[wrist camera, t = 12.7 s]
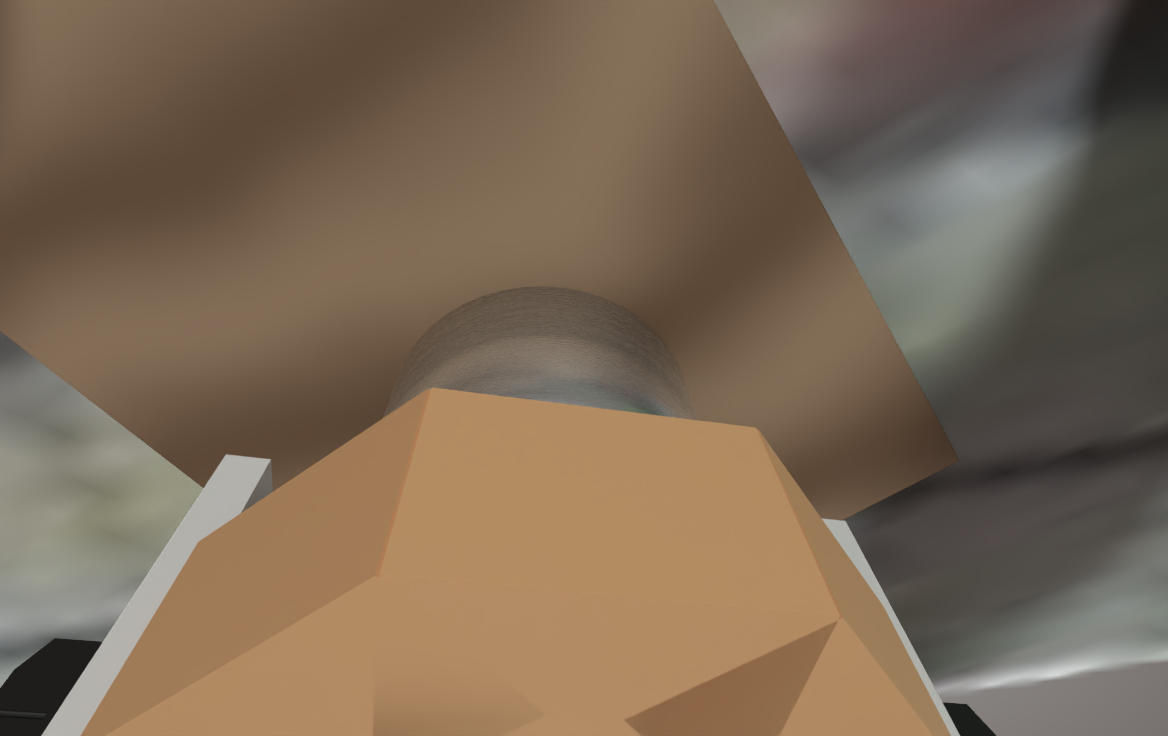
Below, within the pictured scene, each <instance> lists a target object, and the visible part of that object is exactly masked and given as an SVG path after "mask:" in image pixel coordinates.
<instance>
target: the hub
mask: <svg viewBox="0 0 1168 736" xmlns="http://www.w3.org/2000/svg"><path fill="white" fill-rule="evenodd" d="M428 388H429V389H430V390H431V388H441V389H449V390H457V391H465V392H473V393H481V394H489V395H497V396H505V397H513V398H521V399H529V400H537V401H546V402H554V403H562V404H570V405H578V406H586V407H594V408H602V409H610V410H618V411H626V412H634V413H642V414H651V415H659V416H667V417H675V418H683V419H691V420H698V418H697V415H696V412H695V409H694V406H693V403H692V400H691V397H690V394H689V391H688V388H687V385H686V382H685V379H684V376H683V374H682V371H681V369H680V367H679V364H678V362H677V360H676V358H675V357H674V355H673V353H672V352H671V350H670V349H669V347H668V345H667V344H666V343H665V342H664V341H663V340H662V338H661V337H660V336H659V335H658V334H657V332H656V331H655V330H653V329H652V328H651V327H650V326H649V325H648V324H647V323H645V322H644V321H643V320H642V319H641V318H639V317H638V316H636V315H635V314H633V313H632V312H630V311H629V310H627V309H626V308H624V307H622V306H620V305H618V304H616V303H614V302H612V301H610V300H608V299H605V298H602V297H599V296H596V295H593V294H590V293H587V292H583V291H578V290H573V289H568V288H560V287H548V286H538V287H521V288H514V289H508V290H502V291H499V292H495V293H492V294H488V295H485V296H482V297H479V298H477V299H475V300H472V301H470V302H468V303H465V304H463V305H461V306H460V307H458V308H456V309H455V310H453V311H451V312H450V313H448V314H446V315H445V316H444V317H442V318H441V319H440V320H439V321H437V322H436V323H435V324H434V325H432V326H431V327H430V328H429V329H428V330H427V331H426V332H425V333H424V334H423V336H422V337H421V338H420V339H419V340H418V341H417V342H416V344H415V345H414V347H413V348H412V350H411V351H410V352H409V354H408V355H407V357H406V359H405V361H404V363H403V366H402V368H401V370H400V372H399V374H398V377H397V380H396V383H395V385H394V388H393V391H392V394H391V397H390V399H389V402H388V405H387V408H386V410H385V413H384V416H383V418H384V417H386V416H387V415H389V414H390V413H392V412H393V411H395V410H396V409H398V408H399V407H401V406H402V405H404V404H405V403H407V402H408V401H410V400H411V399H413V398H414V397H416V396H417V395H419V394H420V393H422V392H423V391H425V390H426V389H428Z"/></svg>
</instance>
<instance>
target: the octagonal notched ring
mask: <svg viewBox="0 0 1168 736" xmlns="http://www.w3.org/2000/svg"><path fill="white" fill-rule="evenodd" d="M81 736H951V735H950V733H949V731H948V729H947V727H946V725H945V723H944V721H943V719H942V718H941V716H940V714H939V712H938V710H937V708H936V706H935V704H934V702H933V700H932V698H931V696H930V694H929V693H928V691H927V689H926V687H925V685H924V683H923V681H922V679H921V677H920V675H919V673H918V671H917V670H916V668H915V666H914V664H913V662H912V660H911V658H910V656H909V654H908V652H907V650H906V648H905V647H904V645H903V643H902V641H901V639H900V637H899V635H898V633H897V631H896V629H895V627H894V625H893V624H892V622H891V620H890V618H889V616H888V614H887V612H886V610H885V608H884V606H883V605H882V603H881V602H880V600H879V599H878V598H877V596H876V595H875V593H874V592H873V591H872V589H871V588H870V586H869V585H868V583H867V582H866V581H865V579H864V578H863V576H862V575H861V574H860V572H859V571H858V569H857V568H856V567H855V565H854V564H853V562H852V561H851V559H850V558H849V557H848V555H847V554H846V552H845V551H844V550H843V548H842V547H841V545H840V544H839V542H838V541H837V540H836V538H835V537H834V535H833V534H832V533H831V531H830V530H829V528H828V527H827V526H826V524H825V523H824V521H823V520H822V518H821V517H820V516H819V514H818V513H817V511H816V510H815V509H814V507H813V506H812V504H811V503H810V501H809V500H808V499H807V497H806V496H805V494H804V493H803V492H802V490H801V489H800V487H799V486H798V485H797V483H796V482H795V480H794V479H793V477H792V476H791V475H790V473H789V472H788V470H787V469H786V468H785V466H784V465H783V463H782V462H781V461H780V459H779V458H778V456H777V455H776V453H775V452H774V451H773V449H772V448H771V446H770V445H769V444H768V442H767V441H766V439H765V438H764V436H763V435H762V434H761V432H760V431H759V429H756V428H755V427H747V426H739V425H731V424H723V423H715V422H707V421H699V420H691V419H683V418H675V417H667V416H659V415H651V414H642V413H634V412H626V411H618V410H610V409H602V408H594V407H586V406H578V405H570V404H562V403H554V402H546V401H537V400H529V399H521V398H513V397H505V396H497V395H489V394H481V393H473V392H465V391H457V390H449V389H441V388H431V390H430V389H429V388H428V389H426V390H425V391H423V392H422V393H420V394H419V395H417V396H416V397H414V398H413V399H411V400H410V401H408V402H407V403H405V404H404V405H402V406H401V407H399V408H398V409H396V410H395V411H393V412H392V413H390V414H389V415H387V416H386V417H384V418H383V419H381V420H380V421H378V422H377V423H375V424H374V425H372V426H371V427H369V428H368V429H366V430H365V431H363V432H362V433H360V434H359V435H357V436H356V437H354V438H353V439H351V440H350V441H348V442H347V443H345V444H344V445H342V446H341V447H339V448H338V449H336V450H335V451H333V452H332V453H330V454H329V455H327V456H326V457H324V458H323V459H321V460H320V461H318V462H317V463H315V464H314V465H312V466H311V467H309V468H308V469H306V470H305V471H303V472H302V473H300V474H299V475H297V476H296V477H294V478H293V479H291V480H290V481H288V482H287V483H285V484H284V485H282V486H281V487H279V488H278V489H276V490H275V491H273V492H272V493H270V494H269V495H267V496H266V497H264V498H263V499H261V500H260V501H258V502H257V503H255V504H254V505H252V506H251V507H249V508H248V509H246V510H245V511H243V512H242V513H240V514H239V515H237V516H236V517H234V518H233V519H232V520H230V521H229V522H227V523H226V524H224V525H223V526H221V527H220V528H218V529H217V530H215V531H214V532H212V533H211V534H209V535H208V536H206V537H205V538H203V539H202V540H200V541H199V542H198V543H197V545H196V546H195V548H194V550H193V551H192V553H191V554H190V556H189V558H188V559H187V561H186V563H185V564H184V566H183V568H182V569H181V571H180V573H179V574H178V576H177V578H176V579H175V581H174V582H173V584H172V586H171V587H170V589H169V591H168V592H167V594H166V596H165V597H164V599H163V601H162V602H161V604H160V606H159V607H158V609H157V610H156V612H155V614H154V615H153V617H152V619H151V620H150V622H149V624H148V625H147V627H146V629H145V630H144V632H143V633H142V635H141V637H140V638H139V640H138V642H137V643H136V645H135V647H134V648H133V650H132V652H131V653H130V655H129V657H128V658H127V660H126V661H125V663H124V665H123V666H122V668H121V670H120V671H119V673H118V675H117V676H116V678H115V680H114V681H113V683H112V684H111V686H110V688H109V689H108V691H107V693H106V694H105V696H104V698H103V699H102V701H101V703H100V704H99V706H98V708H97V709H96V711H95V712H94V714H93V716H92V717H91V719H90V721H89V722H88V724H87V726H86V727H85V729H84V731H83V732H82V734H81Z"/></svg>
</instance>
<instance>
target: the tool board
mask: <svg viewBox="0 0 1168 736" xmlns="http://www.w3.org/2000/svg"><path fill="white" fill-rule="evenodd" d="M538 286H548V287H560V288H568V289H573V290H578V291H583V292H587V293H590V294H593V295H596V296H599V297H602V298H605V299H608V300H610V301H612V302H614V303H616V304H618V305H620V306H622V307H624V308H626V309H627V310H629V311H630V312H632V313H633V314H635V315H636V316H638V317H639V318H641V319H642V320H643V321H644V322H645V323H647V324H648V325H649V326H650V327H651V328H652V329H653V330H655V331H656V332H657V334H658V335H659V336H660V337H661V338H662V340H663V341H664V342H665V343H666V344H667V345H668V347H669V349H670V350H671V352H672V353H673V355H674V357H675V358H676V360H677V362H678V364H679V367H680V369H681V371H682V374H683V376H684V379H685V382H686V385H687V388H688V391H689V394H690V397H691V400H692V403H693V406H694V409H695V412H696V415H697V418H698V420H699V421H707V422H715V423H723V424H731V425H739V426H747V427H755V428H756V429H759V431H760V432H761V434H762V435H763V436H764V438H765V439H766V441H767V442H768V444H769V445H770V446H771V448H772V449H773V451H774V452H775V453H776V455H777V456H778V458H779V459H780V461H781V462H782V463H783V465H784V466H785V468H786V469H787V470H788V472H789V473H790V475H791V476H792V477H793V479H794V480H795V482H796V483H797V485H798V486H799V487H800V489H801V490H802V492H803V493H804V494H805V496H806V497H807V499H808V500H809V501H810V503H811V504H812V506H813V507H814V509H815V510H816V511H817V513H818V514H819V516H820V517H821V518H822V519H832V520H841V521H842V520H844V519H846V518H848V517H850V516H852V515H854V514H856V513H858V512H860V511H862V510H864V509H865V508H867V507H869V506H871V505H873V504H875V503H877V502H879V501H881V500H883V499H885V498H887V497H889V496H891V495H893V494H895V493H897V492H899V491H901V490H903V489H905V488H907V487H909V486H911V485H913V484H915V483H917V482H919V481H921V480H923V479H925V478H927V477H929V476H931V475H933V474H935V473H937V472H939V471H940V470H942V469H944V468H946V467H948V466H950V465H952V464H954V463H956V462H958V461H960V460H959V458H958V456H957V455H956V453H955V451H954V449H953V447H952V445H951V443H950V441H949V440H948V438H947V436H946V434H945V432H944V430H943V428H942V427H941V425H940V423H939V421H938V419H937V417H936V415H935V413H934V412H933V410H932V408H931V406H930V404H929V402H928V400H927V398H926V397H925V395H924V393H923V391H922V389H921V387H920V385H919V384H918V382H917V380H916V378H915V376H914V374H913V372H912V370H911V369H910V367H909V365H908V363H907V361H906V359H905V357H904V356H903V354H902V352H901V350H900V348H899V346H898V344H897V342H896V341H895V339H894V337H893V335H892V333H891V331H890V329H889V327H888V326H887V324H886V322H885V320H884V318H883V316H882V314H881V313H880V311H879V309H878V307H877V305H876V303H875V301H874V299H873V298H872V296H871V294H870V292H869V290H868V288H867V286H866V285H865V283H864V281H863V279H862V277H861V275H860V273H859V271H858V270H857V268H856V266H855V264H854V262H853V260H852V258H851V256H850V255H849V253H848V251H847V249H846V247H845V245H844V243H843V242H842V240H841V238H840V236H839V234H838V232H837V230H836V228H835V227H834V225H833V223H832V221H831V219H830V217H829V215H828V214H827V212H826V210H825V208H824V206H823V204H822V202H821V200H820V199H819V197H818V195H817V193H816V191H815V189H814V187H813V185H812V184H811V182H810V180H809V178H808V176H807V174H806V172H805V171H804V169H803V167H802V165H801V163H800V161H799V159H798V157H797V156H796V154H795V152H794V150H793V148H792V146H791V144H790V143H789V141H788V139H787V137H786V135H785V133H784V131H783V129H782V128H781V126H780V124H779V122H778V120H777V118H776V116H775V114H774V113H773V111H772V109H771V107H770V105H769V103H768V101H767V100H766V98H765V96H764V94H763V92H762V90H761V88H760V86H759V85H758V83H757V81H756V79H755V77H754V75H753V73H752V72H751V70H750V68H749V66H748V64H747V62H746V60H745V58H744V57H743V55H742V53H741V51H740V49H739V47H738V45H737V43H736V42H735V40H734V38H733V36H732V34H731V32H730V30H729V29H728V27H727V25H726V23H725V21H724V19H723V17H722V15H721V14H720V12H719V10H718V8H717V6H716V4H715V2H714V1H713V0H0V331H1V332H2V333H3V334H5V335H6V336H7V337H9V338H10V339H11V340H12V341H14V342H15V343H16V344H18V345H19V346H20V347H22V348H23V349H24V350H25V351H27V352H28V353H29V354H31V355H32V356H33V357H34V358H36V359H37V360H38V361H40V362H41V363H42V364H44V365H45V366H46V367H47V368H49V369H50V370H51V371H53V372H54V373H55V374H56V375H58V376H59V377H60V378H62V379H63V380H64V381H66V382H67V383H68V384H69V385H71V386H72V387H73V388H75V389H76V390H77V391H79V392H80V393H81V394H82V395H84V396H85V397H86V398H88V399H89V400H90V401H91V402H93V403H94V404H95V405H97V406H98V407H99V408H101V409H102V410H103V411H104V412H106V413H107V414H108V415H110V416H111V417H112V418H113V419H115V420H116V421H117V422H119V423H120V424H121V425H123V426H124V427H125V428H126V429H128V430H129V431H130V432H132V433H133V434H134V435H136V436H137V437H138V438H139V439H141V440H142V441H143V442H145V443H146V444H147V445H148V446H150V447H151V448H152V449H154V450H155V451H156V452H158V453H159V454H160V455H161V456H163V457H164V458H165V459H167V460H168V461H169V462H170V463H172V464H173V465H174V466H176V467H177V468H178V469H180V470H181V471H182V472H183V473H185V474H186V475H187V476H189V477H190V478H191V479H193V480H194V481H195V482H196V483H198V484H199V485H200V486H202V487H203V488H204V487H205V485H206V484H207V482H208V481H209V479H210V478H211V476H212V475H213V473H214V472H215V470H216V469H217V467H218V466H219V464H220V463H221V461H222V460H223V458H224V457H225V455H226V454H227V455H236V456H245V457H255V458H264V459H271V469H272V487H273V491H275V490H276V489H278V488H279V487H281V486H282V485H284V484H285V483H287V482H288V481H290V480H291V479H293V478H294V477H296V476H297V475H299V474H300V473H302V472H303V471H305V470H306V469H308V468H309V467H311V466H312V465H314V464H315V463H317V462H318V461H320V460H321V459H323V458H324V457H326V456H327V455H329V454H330V453H332V452H333V451H335V450H336V449H338V448H339V447H341V446H342V445H344V444H345V443H347V442H348V441H350V440H351V439H353V438H354V437H356V436H357V435H359V434H360V433H362V432H363V431H365V430H366V429H368V428H369V427H371V426H372V425H374V424H375V423H377V422H378V421H380V420H381V419H383V416H384V413H385V410H386V408H387V405H388V402H389V399H390V397H391V394H392V391H393V388H394V385H395V383H396V380H397V377H398V374H399V372H400V370H401V368H402V366H403V363H404V361H405V359H406V357H407V355H408V354H409V352H410V351H411V350H412V348H413V347H414V345H415V344H416V342H417V341H418V340H419V339H420V338H421V337H422V336H423V334H424V333H425V332H426V331H427V330H428V329H429V328H430V327H431V326H432V325H434V324H435V323H436V322H437V321H439V320H440V319H441V318H442V317H444V316H445V315H446V314H448V313H450V312H451V311H453V310H455V309H456V308H458V307H460V306H461V305H463V304H465V303H468V302H470V301H472V300H475V299H477V298H479V297H482V296H485V295H488V294H492V293H495V292H499V291H502V290H508V289H514V288H521V287H538Z"/></svg>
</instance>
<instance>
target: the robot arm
mask: <svg viewBox="0 0 1168 736" xmlns="http://www.w3.org/2000/svg"><path fill="white" fill-rule="evenodd" d="M272 492H273V487H272V469H271V459H264V458H255V457H245V456H236V455H227V454H226V455H225V457H224V458H223V460H222V461H221V463H220V464H219V466H218V467H217V469H216V470H215V472H214V473H213V475H212V476H211V478H210V479H209V481H208V482H207V484H206V485H205V487H204V489H203V490H202V492H201V493H200V495H199V496H198V498H197V499H196V501H195V502H194V504H193V505H192V507H191V508H190V510H189V511H188V513H187V514H186V516H185V517H184V519H183V521H182V522H181V524H180V525H179V527H178V528H177V530H176V531H175V533H174V534H173V536H172V537H171V539H170V540H169V542H168V543H167V545H166V546H165V548H164V549H163V551H162V553H161V554H160V556H159V557H158V559H157V560H156V562H155V563H154V565H153V566H152V568H151V569H150V571H149V572H148V574H147V575H146V577H145V578H144V580H143V582H142V583H141V585H140V586H139V588H138V589H137V591H136V592H135V594H134V595H133V597H132V598H131V600H130V601H129V603H128V604H127V606H126V607H125V609H124V610H123V612H122V614H121V615H120V617H119V618H118V620H117V621H116V623H115V624H114V626H113V627H112V629H111V630H110V632H109V633H108V635H107V636H106V638H105V639H104V641H103V642H97V641H84V640H70V639H56V638H55V639H54V640H52V641H51V642H50V643H48V644H47V645H46V646H45V647H43V648H42V649H41V650H39V651H38V652H37V653H35V654H34V655H33V656H32V657H30V658H29V659H28V660H26V661H25V662H24V663H22V664H21V665H20V666H19V667H17V668H16V669H15V670H14V671H13V672H12V673H11V675H10V676H9V677H8V679H7V680H6V681H5V683H4V684H3V685H2V687H1V688H0V736H81V734H82V732H83V731H84V729H85V727H86V726H87V724H88V722H89V721H90V719H91V717H92V716H93V714H94V712H95V711H96V709H97V708H98V706H99V704H100V703H101V701H102V699H103V698H104V696H105V694H106V693H107V691H108V689H109V688H110V686H111V684H112V683H113V681H114V680H115V678H116V676H117V675H118V673H119V671H120V670H121V668H122V666H123V665H124V663H125V661H126V660H127V658H128V657H129V655H130V653H131V652H132V650H133V648H134V647H135V645H136V643H137V642H138V640H139V638H140V637H141V635H142V633H143V632H144V630H145V629H146V627H147V625H148V624H149V622H150V620H151V619H152V617H153V615H154V614H155V612H156V610H157V609H158V607H159V606H160V604H161V602H162V601H163V599H164V597H165V596H166V594H167V592H168V591H169V589H170V587H171V586H172V584H173V582H174V581H175V579H176V578H177V576H178V574H179V573H180V571H181V569H182V568H183V566H184V564H185V563H186V561H187V559H188V558H189V556H190V554H191V553H192V551H193V550H194V548H195V546H196V545H197V543H198V542H199V541H200V540H202V539H203V538H205V537H206V536H208V535H209V534H211V533H212V532H214V531H215V530H217V529H218V528H220V527H221V526H223V525H224V524H226V523H227V522H229V521H230V520H232V519H233V518H234V517H236V516H237V515H239V514H240V513H242V512H243V511H245V510H246V509H248V508H249V507H251V506H252V505H254V504H255V503H257V502H258V501H260V500H261V499H263V498H264V497H266V496H267V495H269V494H270V493H272ZM822 520H823V521H824V523H825V524H826V526H827V527H828V528H829V530H830V531H831V533H832V534H833V535H834V537H835V538H836V540H837V541H838V542H839V544H840V545H841V547H842V548H843V550H844V551H845V552H846V554H847V555H848V557H849V558H850V559H851V561H852V562H853V564H854V565H855V567H856V568H857V569H858V571H859V572H860V574H861V575H862V576H863V578H864V579H865V581H866V582H867V583H868V585H869V586H870V588H871V589H872V591H873V592H874V593H875V595H876V596H877V598H878V599H879V600H880V602H881V603H882V605H883V606H884V608H885V610H886V612H887V614H888V616H889V618H890V620H891V622H892V624H893V625H894V627H895V629H896V631H897V633H898V635H899V637H900V639H901V641H902V643H903V645H904V647H905V648H906V650H907V652H908V654H909V656H910V658H911V660H912V662H913V664H914V666H915V668H916V670H917V671H918V673H919V675H920V677H921V679H922V681H923V683H924V685H925V687H926V689H927V691H928V693H929V694H930V696H931V698H932V700H933V702H934V704H935V706H936V708H937V710H938V712H939V714H940V716H941V718H942V719H943V721H944V723H945V725H946V727H947V729H948V731H949V733H950V735H951V736H996V735H995V734H994V733H993V732H992V731H991V729H990V728H989V727H988V726H987V725H986V724H985V723H984V722H983V721H982V720H981V719H980V718H979V717H978V716H977V715H976V714H975V712H974V711H973V710H972V709H971V708H970V707H969V706H968V705H967V704H956V703H943V702H942V701H941V699H940V697H939V695H938V693H937V691H936V690H935V688H934V686H933V684H932V682H931V680H930V678H929V676H928V675H927V673H926V671H925V669H924V667H923V665H922V663H921V661H920V660H919V658H918V656H917V654H916V652H915V650H914V648H913V646H912V645H911V643H910V641H909V639H908V637H907V635H906V633H905V632H904V630H903V628H902V626H901V624H900V622H899V620H898V618H897V617H896V615H895V613H894V611H893V609H892V607H891V605H890V603H889V602H888V600H887V598H886V596H885V594H884V592H883V590H882V588H881V587H880V585H879V583H878V581H877V579H876V577H875V575H874V574H873V572H872V570H871V568H870V566H869V564H868V562H867V560H866V559H865V557H864V555H863V553H862V551H861V549H860V547H859V545H858V544H857V542H856V540H855V538H854V536H853V534H852V532H851V530H850V529H849V527H848V525H847V523H846V521H841V520H832V519H822Z"/></svg>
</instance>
